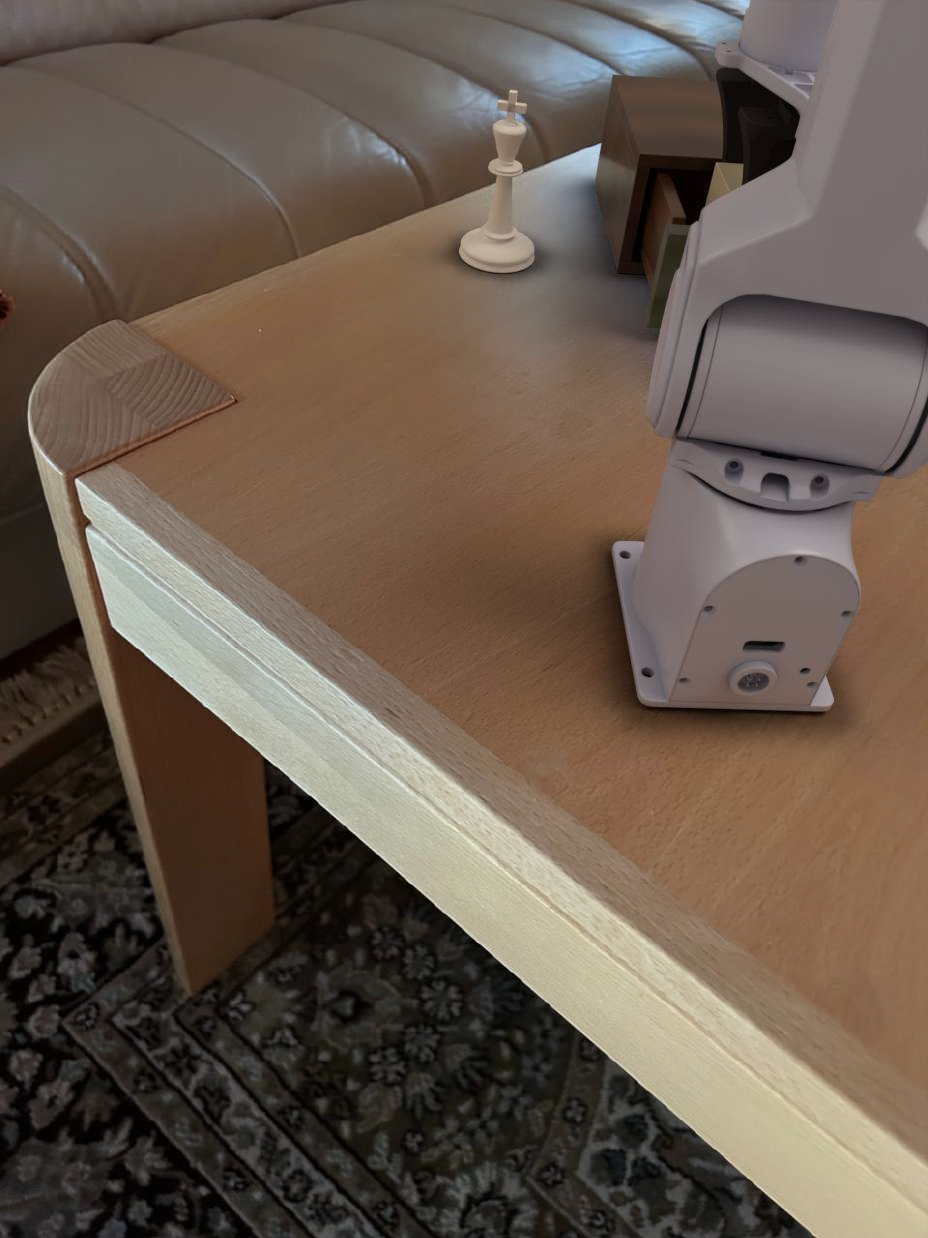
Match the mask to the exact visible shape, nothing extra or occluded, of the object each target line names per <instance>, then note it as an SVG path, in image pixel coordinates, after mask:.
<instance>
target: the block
mask: <svg viewBox="0 0 928 1238" xmlns="http://www.w3.org/2000/svg"><path fill="white" fill-rule="evenodd" d="M742 178H743V164H735V163H720V162H716V164H715V168H714V172H713V177H712V181H711V185H710V189H709V193H708V197H707V201H706V205H708V204H709V203H711V202H713V201H714V200H716V199H718V198H720V197H722V196H723V195H725V194H727V193H729V192H731V191H733V190H735V189H737V188H739V187H741V186H742ZM706 205H705V206H706Z"/></svg>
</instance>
